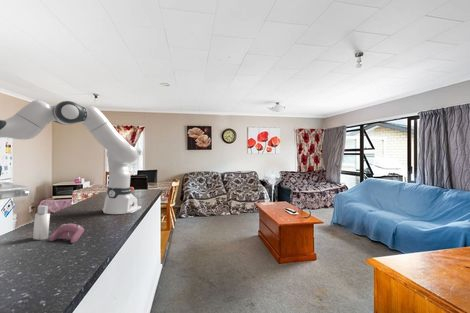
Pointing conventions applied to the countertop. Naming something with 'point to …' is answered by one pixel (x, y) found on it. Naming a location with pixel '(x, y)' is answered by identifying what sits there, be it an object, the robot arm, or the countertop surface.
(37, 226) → the white bottle
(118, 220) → the countertop surface
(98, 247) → the countertop surface
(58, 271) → the countertop surface
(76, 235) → the video game controller
